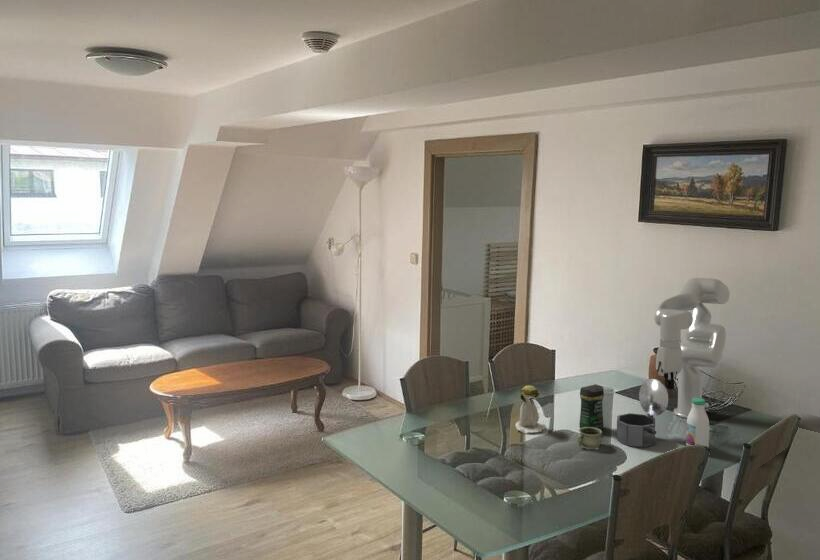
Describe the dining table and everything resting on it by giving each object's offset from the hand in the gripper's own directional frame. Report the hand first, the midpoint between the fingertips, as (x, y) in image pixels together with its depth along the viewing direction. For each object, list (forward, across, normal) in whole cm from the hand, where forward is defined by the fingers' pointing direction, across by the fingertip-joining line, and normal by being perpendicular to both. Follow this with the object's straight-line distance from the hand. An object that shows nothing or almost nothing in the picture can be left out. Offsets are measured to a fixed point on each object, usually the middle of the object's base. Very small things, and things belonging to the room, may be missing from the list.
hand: (669, 388), depth 250 cm
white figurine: (+19, +45, -30) cm, 58 cm away
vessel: (+19, +35, -4) cm, 41 cm away
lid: (+3, +9, 0) cm, 9 cm away
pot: (+19, +16, 0) cm, 25 cm away
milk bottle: (+19, +3, +18) cm, 26 cm away
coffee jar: (+19, +23, -18) cm, 35 cm away
